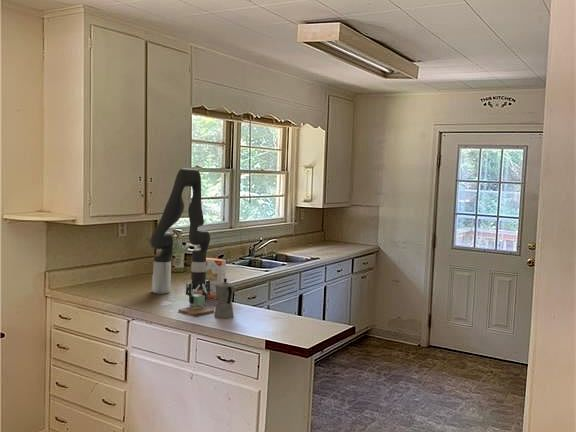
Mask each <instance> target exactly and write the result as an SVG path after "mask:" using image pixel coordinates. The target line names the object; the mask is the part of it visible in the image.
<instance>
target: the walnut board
mask: <svg viewBox="0 0 576 432" xmlns="http://www.w3.org/2000/svg"><path fill="white" fill-rule="evenodd" d="M178 313H181V314H184V315H188V316H192V317H196V318H197V317H200V316H204V315H210V314H213V313H214V314H215V309H211V308H209V307H205V306H198V305H197V306H192V305H191V306H187V307H183V308H180V309H178Z"/></svg>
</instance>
